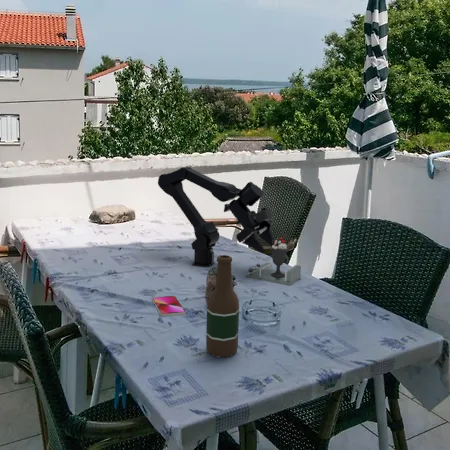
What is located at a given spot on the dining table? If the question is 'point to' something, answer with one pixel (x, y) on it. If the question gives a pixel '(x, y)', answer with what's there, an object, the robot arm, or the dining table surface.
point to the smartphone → (168, 306)
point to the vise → (266, 271)
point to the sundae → (278, 255)
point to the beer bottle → (222, 313)
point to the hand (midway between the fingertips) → (269, 249)
